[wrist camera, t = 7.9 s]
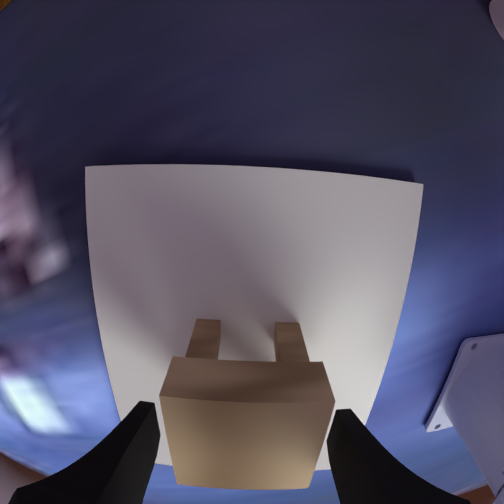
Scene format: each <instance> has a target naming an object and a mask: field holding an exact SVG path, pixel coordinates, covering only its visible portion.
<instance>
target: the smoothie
mask: <svg viewBox="0 0 504 504" xmlns="http://www.w3.org/2000/svg"><path fill="white" fill-rule="evenodd" d="M489 12H490V16H491V19H492V22H493V24H494V26H495V28H496V30H497V31H498V33H499V34H500V36H501V37H502V38H503V40H504V0H492V1H491V2H490V5H489Z"/></svg>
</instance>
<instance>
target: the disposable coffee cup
mask: <svg viewBox="0 0 504 504" xmlns="http://www.w3.org/2000/svg"><path fill="white" fill-rule="evenodd" d="M11 1H12V0H0V11H1V10H2V9H4V8H5V7H6V6H7V5H8V4H9V3H10V2H11Z"/></svg>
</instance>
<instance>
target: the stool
mask: <svg viewBox="0 0 504 504" xmlns="http://www.w3.org/2000/svg"><path fill="white" fill-rule="evenodd" d="M220 340H221V320H211V319H196V323H195V326H194V329H193V332H192V336H191V339H190V342H189V346H188V349H187V352H186V356H185V357H177V356H173V357H172V360H171V362H170V365H169V368H168V371H167V374H166V377H165V380H164V382H163V385H162V388H161V391H160V394H159V399H160V404H161V410H162V416H163V421H164V426H165V432H166V437H167V441H168V446H169V451H170V456H171V460H172V465H173V469H174V473H175V477H176V481H177V484H180V485H189V486H198V487H209V488H224V489H249V490H275V489H300V488H308V487H309V484H310V482H311V479H312V476H313V473H314V470H315V467H316V464H317V461H318V458H319V455H320V452H321V449H322V446H323V443H324V439H325V436H326V433H327V429H328V426H329V423H330V419H331V416H332V412H333V409H334V405H335V398H334V395H333V392H332V389H331V385H330V382H329V379H328V376H327V373H326V370H325V367H324V364H323V361H321V362H310V360H309V356H308V353H307V349H306V346H305V342H304V338H303V335H302V331H301V328H300V324H299V323H293V322H275V332H274V350H275V358H276V362H268V361H237V360H218V354H219V347H220Z"/></svg>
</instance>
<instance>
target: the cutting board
mask: <svg viewBox="0 0 504 504" xmlns="http://www.w3.org/2000/svg"><path fill="white" fill-rule="evenodd" d="M85 194H86V219H87V235H88V247H89V258H90V268H91V277H92V285H93V292H94V299H95V306H96V313H97V319H98V325H99V330H100V336H101V341H102V346H103V351H104V356H105V361H106V365H107V370H108V374H109V378H110V382H111V386H112V390H113V394H114V398H115V402H116V406H117V409H118V413H119V416H120V420H121V421H122V420H123V419H124V418H125V417H126V416H127V414H128V413H129V412H130V411H131V410H132V409H133V407H134V406H135V405H136V404H137V403H138V402H139V401H146V402H153V403H155V408H156V413H157V419H158V424H159V429H160V434H161V436H160V442H159V448H158V453H157V457H156V460H155V463H158V464H164V465H171V466H173V465H172V460H171V456H170V451H169V446H168V441H167V437H166V432H165V426H164V421H163V416H162V410H161V404H160V399H159V394H160V391H161V388H162V385H163V382H164V380H165V377H166V374H167V371H168V368H169V365H170V362H171V360H172V357H173V356H177V357H185V356H186V352H187V349H188V346H189V342H190V339H191V336H192V332H193V329H194V326H195V323H196V319H211V320H221V340H220V347H219V354H218V360H237V361H268V362H276V358H275V350H274V332H275V322H293V323H299V324H300V328H301V331H302V335H303V338H304V342H305V346H306V349H307V353H308V356H309V360H310V362H321V361H323V364H324V367H325V370H326V373H327V376H328V379H329V382H330V385H331V389H332V392H333V395H334V398H335V405H334V409H333V412H332V416H331V419H330V423H329V426H328V429H327V433H326V436H325V439H324V443H323V446H322V449H321V452H320V455H319V458H318V461H317V464H316V467H315V470H326V469H331V467H330V463H329V457H328V450H327V442H326V441H327V438H328V434H329V431H330V428H331V425H332V422H333V418H334V415H335V412H336V409H351V410H352V411H353V412H354V413H355V414H356V416H357V417H358V418H359V419H360V421H361V422H362V423H363V424H364V425H365V424H366V421H367V419H368V416H369V414H370V411H371V408H372V406H373V403H374V400H375V397H376V394H377V392H378V389H379V386H380V383H381V380H382V377H383V374H384V371H385V367H386V364H387V361H388V358H389V355H390V351H391V348H392V344H393V341H394V337H395V334H396V330H397V326H398V322H399V319H400V315H401V311H402V306H403V302H404V298H405V294H406V289H407V285H408V280H409V275H410V270H411V265H412V260H413V255H414V249H415V243H416V237H417V231H418V224H419V217H420V210H421V202H422V194H423V184H419V183H414V182H408V181H401V180H394V179H387V178H379V177H371V176H363V175H354V174H345V173H336V172H326V171H315V170H303V169H290V168H276V167H259V166H238V165H209V164H129V165H100V166H87V167H85Z"/></svg>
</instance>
